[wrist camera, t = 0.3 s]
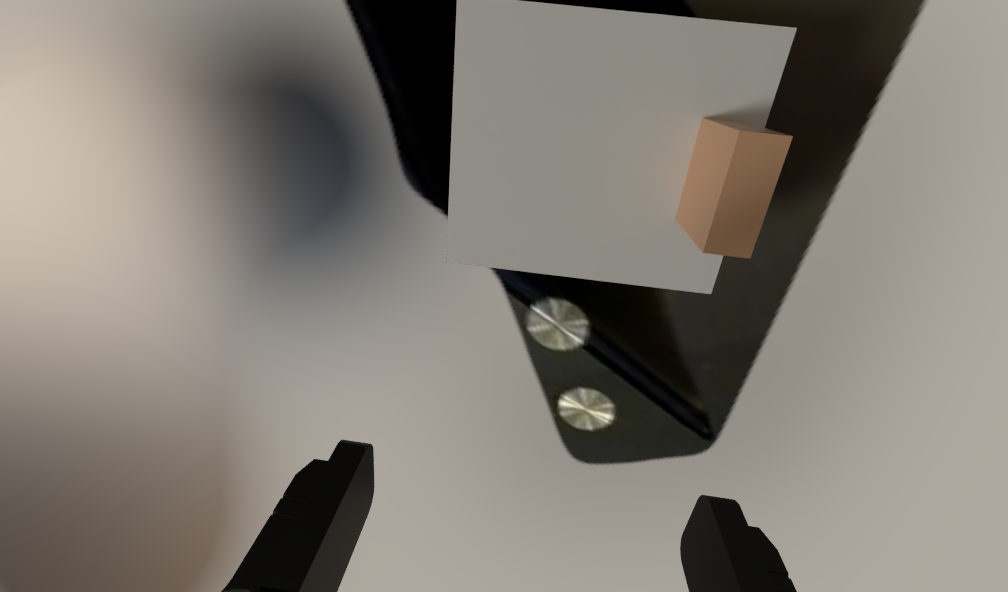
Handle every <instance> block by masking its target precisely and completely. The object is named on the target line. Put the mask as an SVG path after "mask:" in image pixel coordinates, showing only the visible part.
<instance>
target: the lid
mask: <svg viewBox="0 0 1008 592" xmlns="http://www.w3.org/2000/svg"><path fill="white" fill-rule="evenodd" d="M796 30H797V28H792V27H782V26H772V25H762V24H752V23H742V22H731V21H721V20H711V19H701V18H691V17H681V16H670V15H660V14H650V13H640V12H630V11H620V10H610V9H599V8H589V7H579V6H569V5H559V4H549V3H538V2H528V1H518V0H457V11H456V36H455V60H454V85H453V109H452V134H451V158H450V183H449V207H448V232H447V258H446V262H450V263H459V264H467V265H475V266H483V267H491V268H500V269H508V270H516V271H524V272H533V273H541V274H549V275H557V276H565V277H574V278H582V279H590V280H598V281H607V282H615V283H623V284H631V285H640V286H648V287H656V288H664V289H673V290H681V291H689V292H697V293H706V294H711V292H712V289H713V286H714V283H715V280H716V277H717V274H718V271H719V268H720V265H721V261H722V258H723V255H725V256H733V257H742V258H750V257H751V255H752V252H753V249H754V246H755V243H756V240H757V238H758V235H759V232H760V229H761V226H762V223H763V220H764V218H765V215H766V212H767V209H768V206H769V203H770V201H771V198H772V195H773V192H774V189H775V186H776V184H777V181H778V178H779V175H780V172H781V169H782V167H783V164H784V161H785V158H786V155H787V152H788V149H789V147H790V144H791V141H792V138H793V136H790V135H787V134H783V133H780V132H776V131H773V130H769V129H766V128H765V126H766V122H767V119H768V116H769V113H770V110H771V107H772V104H773V101H774V98H775V95H776V92H777V88H778V85H779V82H780V79H781V76H782V73H783V70H784V67H785V64H786V61H787V58H788V54H789V51H790V48H791V45H792V42H793V39H794V36H795V33H796Z"/></svg>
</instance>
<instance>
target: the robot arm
mask: <svg viewBox="0 0 1008 592" xmlns="http://www.w3.org/2000/svg"><path fill="white" fill-rule="evenodd" d="M373 494H374V457H373V446H372V445H371V444H367V443H361V442H354V441H347V440H341V441H340V442H339V443H338V444H337V446H336V448H335V450H334V452H333V453H332V455H331V457H330V459H329V461H324V460H318V459H314V460H313V461H312V462H310V463H309V464H308V465H307V466H306V467H304V468H303V469H302V470H301V471H299V472H298V473H297V474H296V475H295V477H294V478H293V480H292V482H291V483H290V485H289V486H288V488H287V489H286V491H285V493H284V495H283V498H282V499H280V501H279V503H278V504H277V506H276V508H275V509H274V511H273V515H271V516H270V517H269V519H268V520H267V522H266V524H265V525H264V527H263V529H262V530H261V532H260V534H259V535H258V537H257V538H256V540H255V542H254V543H253V545H252V547H251V548H250V550H249V552H248V553H247V555H246V556H245V558H244V560H243V561H242V563H241V565H240V566H239V568H238V569H237V571H236V573H235V574H234V576H233V578H232V579H231V580H230V582H229V583H228V585H227V586H226V587H225V588H224V589H223V590H222V592H337V591H338V588H339V586H340V583H341V581H342V578H343V575H344V573H345V571H346V568H347V566H348V563H349V560H350V558H351V556H352V553H353V551H354V548H355V545H356V543H357V541H358V538H359V535H360V533H361V531H362V528H363V526H364V523H365V520H366V518H367V516H368V513H369V510H370V507H371V503H372V499H373ZM680 551H681V561H682V565H683V569H684V573H685V577H686V581H687V584H688V588H689V592H797V591H796V589H795V587H794V585H793V583H792V581H791V579H789V577H788V572H787V570H786V568H785V565H784V563H783V561H782V559H781V557H780V555H779V552H778V550H777V549H776V548H775V546H774V545H773V544H772V543H771V542H770V541H769V539H768V538H767V537H766V536H765V534H764V533H763V532H762V531H761V530H760V529H759V528H757V527H751V526H748V524H747V522H746V519H745V517H744V515H743V512H742V510H741V508H740V505H739V504H738V503H737V502H736V501H735V500H732V499H725V498H719V497H712V496H706V495H701V496H700V497H699V498H698V500H697V503H696V505H695V507H694V509H693V512H692V514H691V516H690V518H689V521H688V523H687V525H686V527H685V530H684V532H683V535H682V538H681V548H680Z"/></svg>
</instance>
